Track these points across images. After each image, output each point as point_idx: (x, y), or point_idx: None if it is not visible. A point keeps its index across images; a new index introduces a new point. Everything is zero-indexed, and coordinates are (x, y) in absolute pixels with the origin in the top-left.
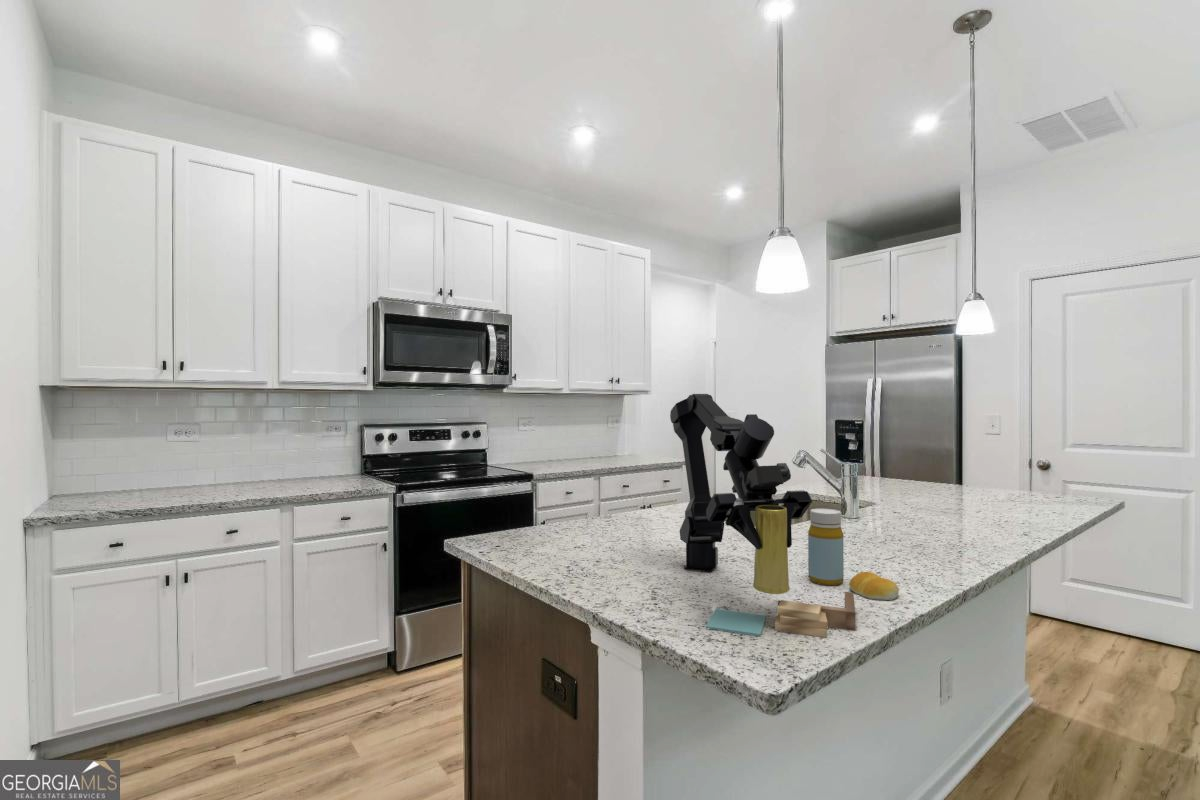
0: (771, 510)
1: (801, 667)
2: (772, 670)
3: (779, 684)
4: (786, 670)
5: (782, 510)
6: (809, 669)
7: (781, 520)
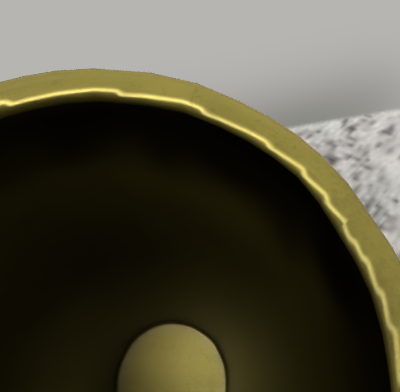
0: (282, 129)
1: (313, 146)
2: (376, 162)
3: (396, 123)
4: (349, 151)
5: (98, 71)
6: (304, 135)
7: (126, 176)
